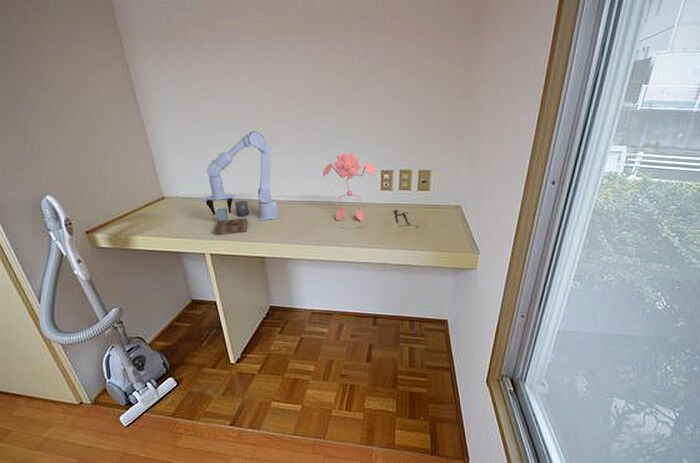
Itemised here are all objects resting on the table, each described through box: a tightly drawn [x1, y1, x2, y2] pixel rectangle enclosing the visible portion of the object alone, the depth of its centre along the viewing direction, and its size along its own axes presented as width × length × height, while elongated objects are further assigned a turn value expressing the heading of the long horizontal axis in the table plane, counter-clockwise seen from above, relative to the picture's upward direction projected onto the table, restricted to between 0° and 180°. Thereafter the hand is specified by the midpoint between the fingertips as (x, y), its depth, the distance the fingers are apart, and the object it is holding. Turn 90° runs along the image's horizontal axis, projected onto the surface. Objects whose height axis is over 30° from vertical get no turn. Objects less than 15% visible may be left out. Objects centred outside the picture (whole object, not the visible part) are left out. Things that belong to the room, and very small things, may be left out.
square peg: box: [216, 207, 229, 221], centre depth 165 cm, size 4×4×7 cm
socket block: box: [214, 217, 249, 236], centre depth 158 cm, size 14×12×2 cm
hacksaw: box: [393, 209, 419, 230], centre depth 165 cm, size 24×10×2 cm, turn 177°
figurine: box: [322, 152, 376, 229], centre depth 155 cm, size 15×26×35 cm, turn 78°
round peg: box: [234, 200, 250, 218], centre depth 175 cm, size 6×6×7 cm
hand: (222, 213), depth 165 cm, fingers open, 7 cm apart
